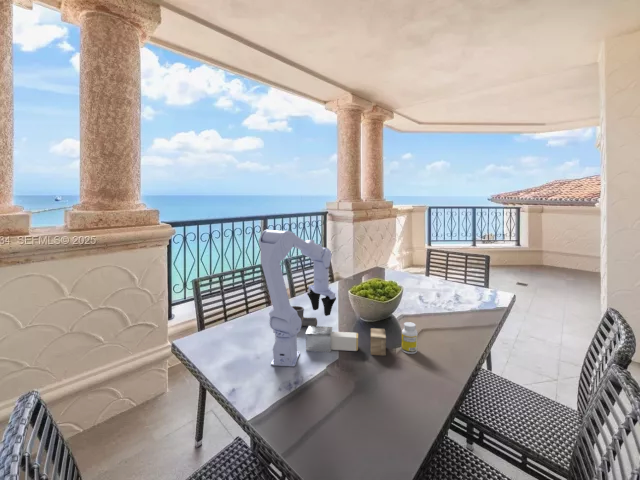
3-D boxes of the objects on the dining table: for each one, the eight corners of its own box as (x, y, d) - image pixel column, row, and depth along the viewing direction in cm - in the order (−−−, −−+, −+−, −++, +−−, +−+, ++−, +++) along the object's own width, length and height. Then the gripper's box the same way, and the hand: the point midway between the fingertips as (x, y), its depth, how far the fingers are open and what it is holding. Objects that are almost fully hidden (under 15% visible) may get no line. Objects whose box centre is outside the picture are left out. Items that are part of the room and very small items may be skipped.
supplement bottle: (405, 345, 118) (406, 319, 116) (419, 349, 114) (420, 323, 113) (398, 351, 113) (399, 324, 112) (413, 355, 110) (414, 328, 109)
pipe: (315, 330, 132) (314, 311, 131) (285, 328, 134) (284, 309, 133) (318, 324, 138) (318, 306, 137) (289, 322, 140) (289, 304, 139)
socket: (385, 355, 110) (385, 337, 109) (370, 354, 111) (371, 336, 110) (384, 345, 117) (384, 328, 117) (370, 345, 118) (370, 328, 117)
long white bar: (357, 351, 113) (357, 337, 112) (310, 348, 115) (309, 335, 115) (358, 345, 117) (358, 332, 116) (311, 343, 119) (311, 330, 119)
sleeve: (330, 352, 113) (330, 334, 112) (305, 350, 114) (305, 333, 113) (332, 343, 120) (332, 327, 119) (309, 342, 121) (308, 326, 120)
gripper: (341, 280, 120) (341, 315, 122) (318, 273, 131) (318, 305, 133) (326, 283, 116) (326, 319, 117) (303, 275, 127) (304, 308, 129)
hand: (321, 312), depth 125 cm, fingers open, 7 cm apart
